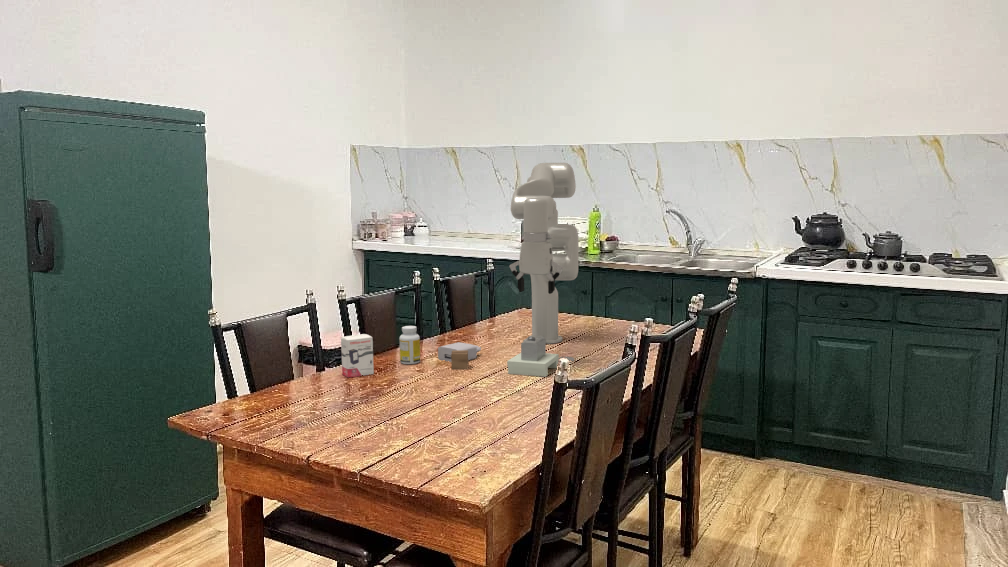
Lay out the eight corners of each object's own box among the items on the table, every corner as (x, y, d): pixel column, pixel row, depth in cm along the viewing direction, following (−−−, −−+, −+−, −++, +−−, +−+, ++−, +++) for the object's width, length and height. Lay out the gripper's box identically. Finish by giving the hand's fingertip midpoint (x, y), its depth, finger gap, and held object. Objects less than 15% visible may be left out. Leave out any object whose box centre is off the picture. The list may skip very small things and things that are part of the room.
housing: (530, 353, 253) (530, 333, 252) (545, 354, 251) (545, 334, 250) (521, 360, 244) (521, 338, 244) (536, 361, 243) (536, 339, 242)
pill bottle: (422, 360, 263) (421, 325, 261) (418, 365, 256) (417, 329, 255) (402, 360, 263) (401, 325, 262) (398, 364, 257) (397, 328, 255)
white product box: (348, 378, 241) (346, 339, 239) (341, 374, 245) (340, 336, 243) (374, 374, 245) (373, 336, 244) (367, 370, 249) (366, 333, 248)
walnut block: (452, 365, 255) (452, 350, 254) (468, 365, 255) (468, 350, 254) (451, 369, 250) (451, 354, 249) (467, 369, 250) (467, 353, 249)
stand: (522, 363, 257) (522, 351, 256) (558, 366, 253) (558, 354, 252) (507, 373, 244) (507, 361, 243) (545, 377, 240) (545, 364, 239)
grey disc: (560, 359, 264) (560, 356, 264) (575, 360, 262) (575, 357, 262) (557, 362, 259) (557, 359, 259) (572, 363, 258) (572, 360, 258)
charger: (489, 356, 269) (458, 364, 258) (469, 352, 275) (438, 360, 264) (489, 342, 268) (458, 349, 257) (468, 338, 274) (437, 346, 263)
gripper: (566, 237, 249) (566, 291, 252) (513, 235, 255) (514, 288, 258) (559, 240, 242) (559, 295, 245) (505, 238, 248) (506, 292, 251)
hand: (536, 292), depth 252 cm, fingers open, 9 cm apart
